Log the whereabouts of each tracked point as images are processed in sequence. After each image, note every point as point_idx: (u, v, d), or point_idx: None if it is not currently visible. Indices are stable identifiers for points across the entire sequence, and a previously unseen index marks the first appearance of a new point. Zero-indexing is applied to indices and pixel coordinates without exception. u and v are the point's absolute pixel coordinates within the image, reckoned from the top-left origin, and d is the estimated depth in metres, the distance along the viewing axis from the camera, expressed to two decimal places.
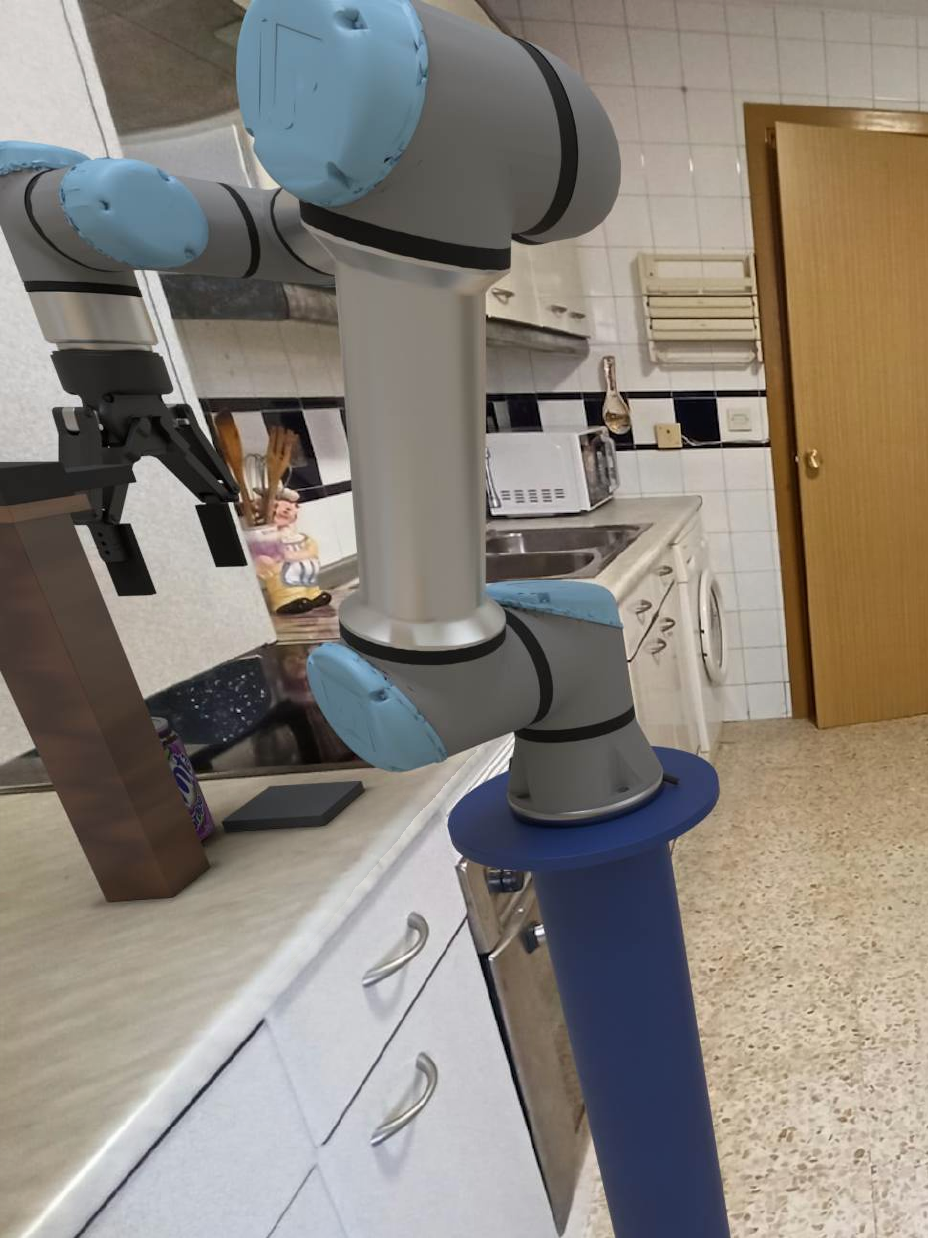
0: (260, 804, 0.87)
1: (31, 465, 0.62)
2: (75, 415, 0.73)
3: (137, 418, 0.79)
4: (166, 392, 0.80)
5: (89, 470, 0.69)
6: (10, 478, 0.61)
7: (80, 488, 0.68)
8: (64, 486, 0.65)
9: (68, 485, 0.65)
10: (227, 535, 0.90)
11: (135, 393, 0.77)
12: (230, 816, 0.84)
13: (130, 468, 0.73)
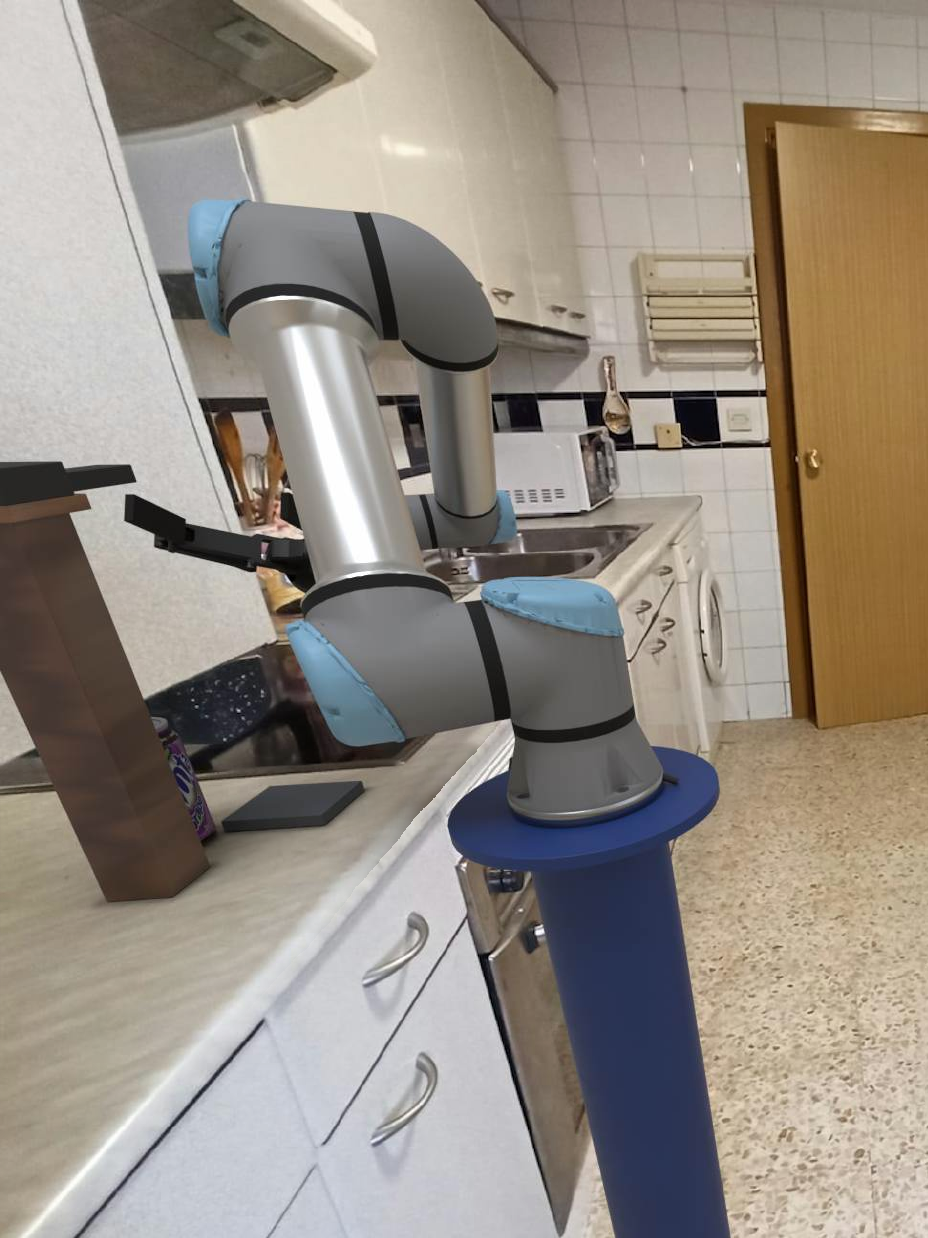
0: (260, 804, 0.87)
1: (31, 465, 0.62)
2: None
3: None
4: None
5: (89, 470, 0.69)
6: (10, 478, 0.61)
7: (80, 488, 0.68)
8: (64, 486, 0.65)
9: (68, 485, 0.65)
10: None
11: None
12: (230, 816, 0.84)
13: (130, 468, 0.73)
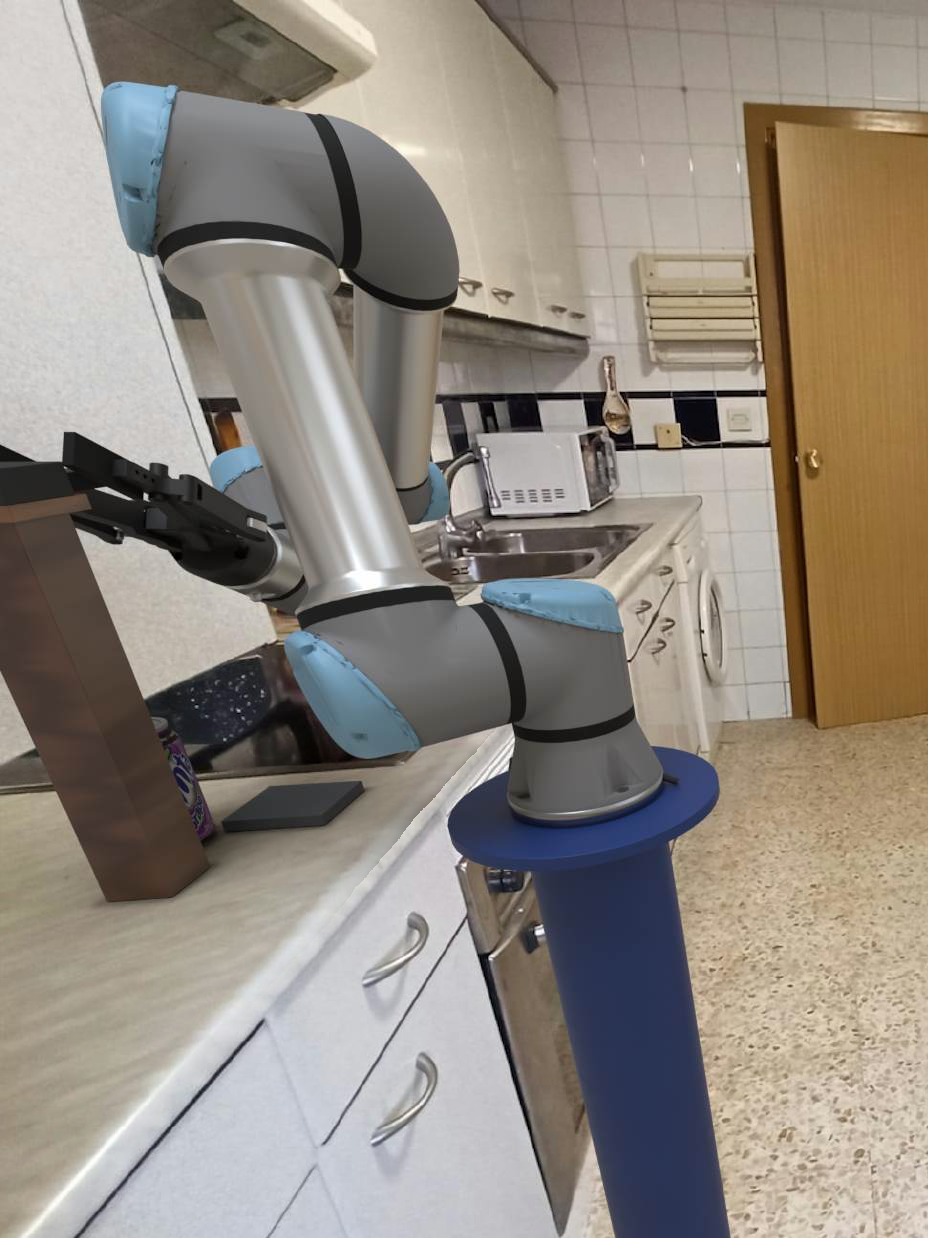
0: (260, 804, 0.87)
1: (31, 465, 0.62)
2: None
3: None
4: None
5: None
6: (10, 478, 0.61)
7: (80, 488, 0.68)
8: (64, 486, 0.65)
9: (68, 485, 0.65)
10: None
11: None
12: (230, 816, 0.84)
13: None
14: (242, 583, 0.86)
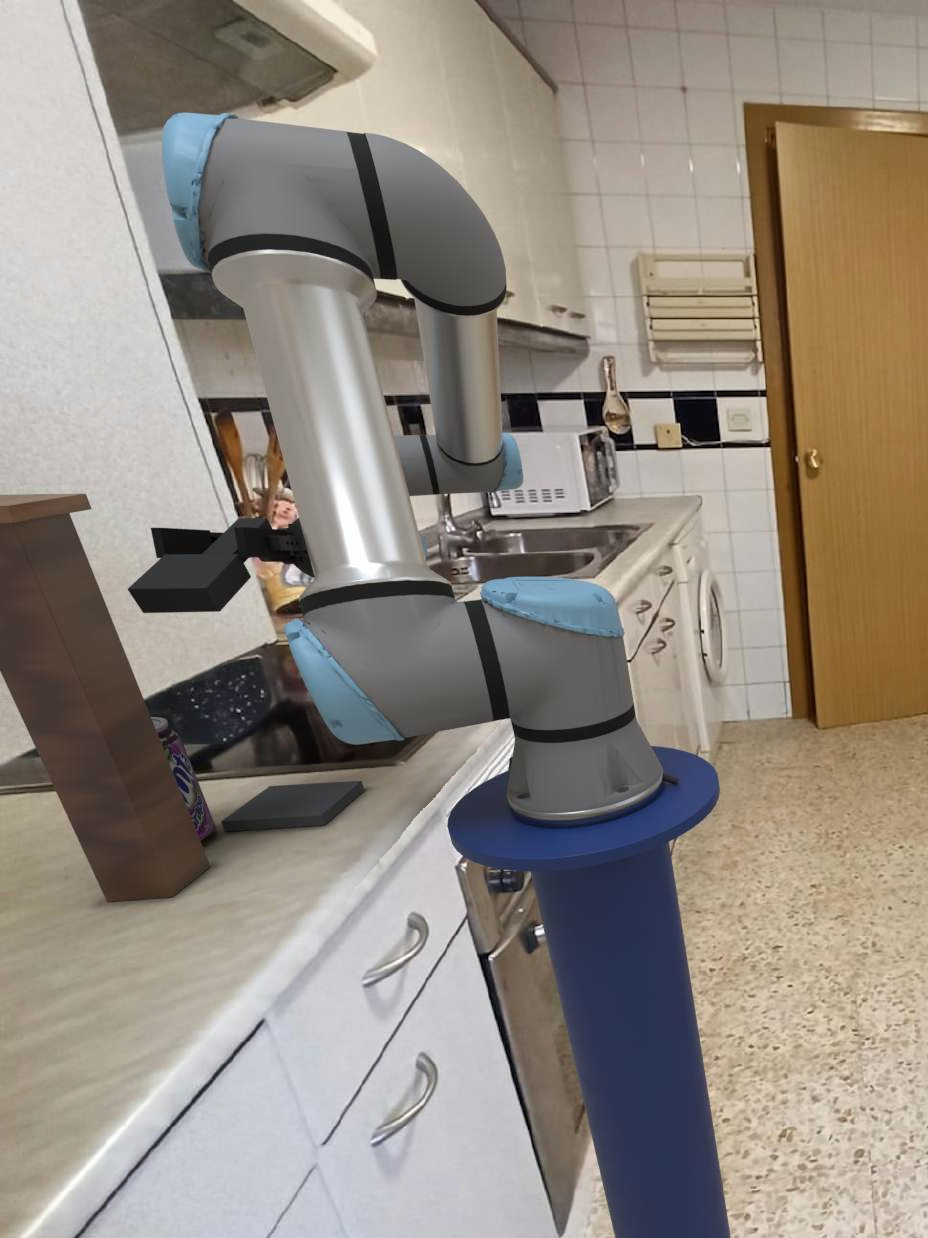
0: (260, 804, 0.87)
1: (224, 569, 0.77)
2: None
3: None
4: None
5: None
6: (216, 588, 0.76)
7: (245, 559, 0.82)
8: (244, 574, 0.79)
9: (246, 571, 0.80)
10: None
11: (294, 522, 0.96)
12: (230, 816, 0.84)
13: (267, 521, 0.86)
14: None
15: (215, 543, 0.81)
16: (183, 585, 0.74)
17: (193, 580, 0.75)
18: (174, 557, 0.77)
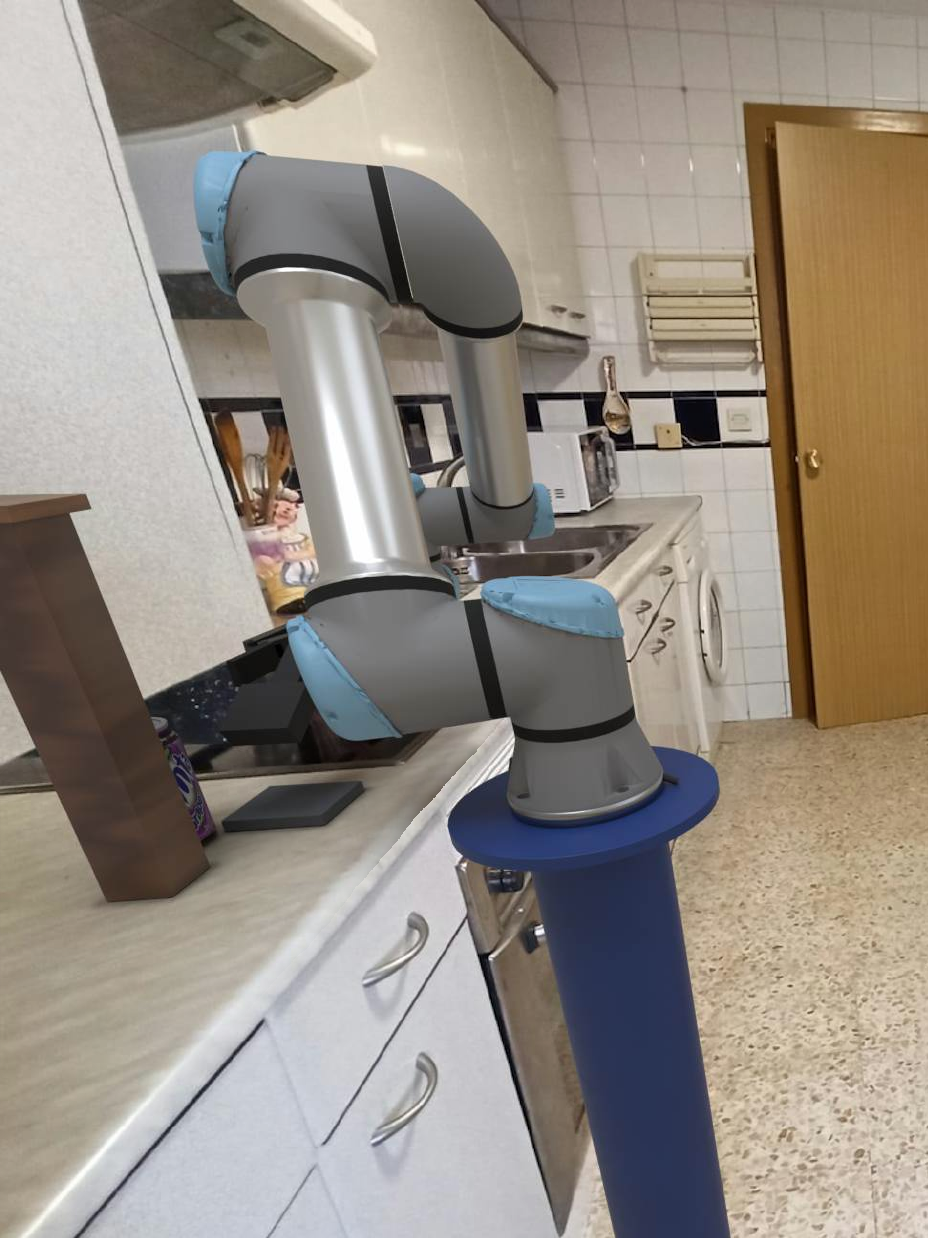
0: (260, 804, 0.87)
1: (298, 702, 0.85)
2: None
3: None
4: None
5: None
6: (295, 723, 0.84)
7: None
8: None
9: None
10: None
11: None
12: (230, 816, 0.84)
13: None
14: None
15: (282, 661, 0.89)
16: (266, 725, 0.83)
17: (274, 718, 0.83)
18: (251, 687, 0.85)
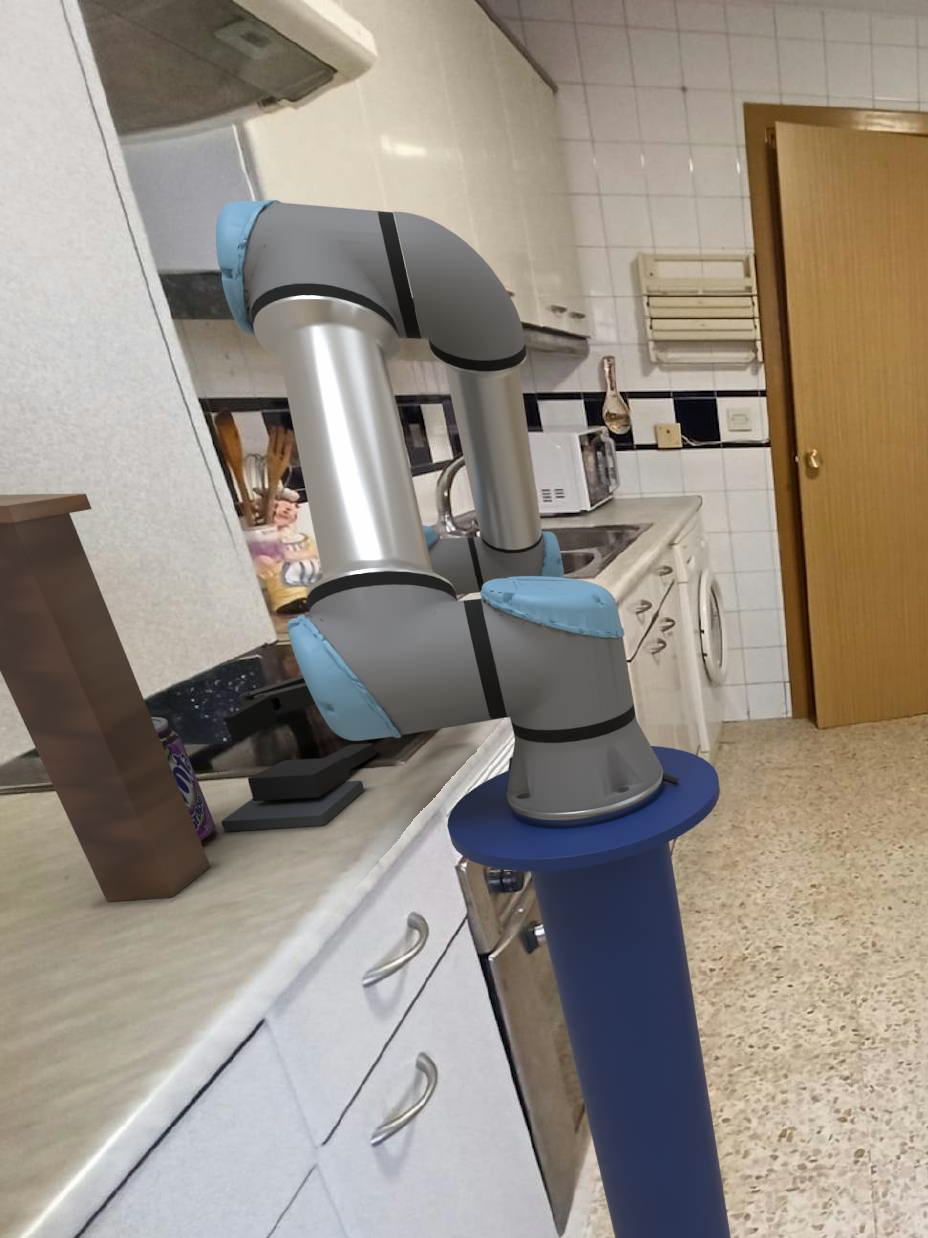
0: (260, 804, 0.87)
1: (330, 765, 0.89)
2: None
3: None
4: None
5: (352, 755, 0.96)
6: (321, 777, 0.87)
7: (348, 769, 0.95)
8: (345, 774, 0.92)
9: (347, 773, 0.92)
10: None
11: None
12: (230, 816, 0.84)
13: (373, 746, 1.00)
14: None
15: (326, 757, 0.95)
16: (294, 774, 0.86)
17: (303, 771, 0.87)
18: (292, 761, 0.91)
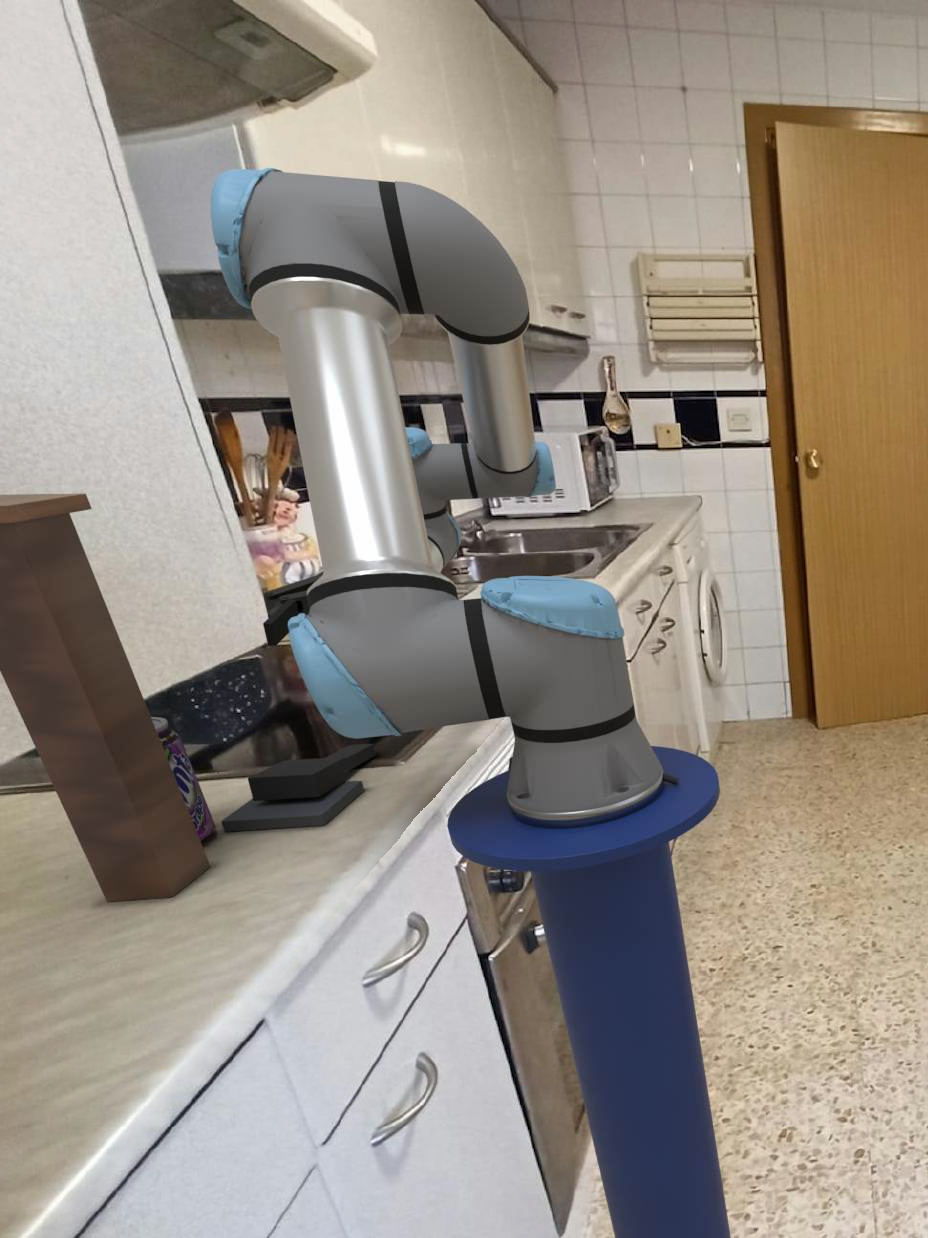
0: (260, 804, 0.87)
1: (330, 764, 0.89)
2: None
3: None
4: None
5: (353, 755, 0.96)
6: (321, 777, 0.87)
7: (348, 769, 0.95)
8: (345, 774, 0.92)
9: (347, 773, 0.92)
10: None
11: None
12: (230, 816, 0.84)
13: (373, 746, 1.00)
14: None
15: (326, 757, 0.95)
16: (294, 774, 0.86)
17: (304, 771, 0.87)
18: (292, 761, 0.91)
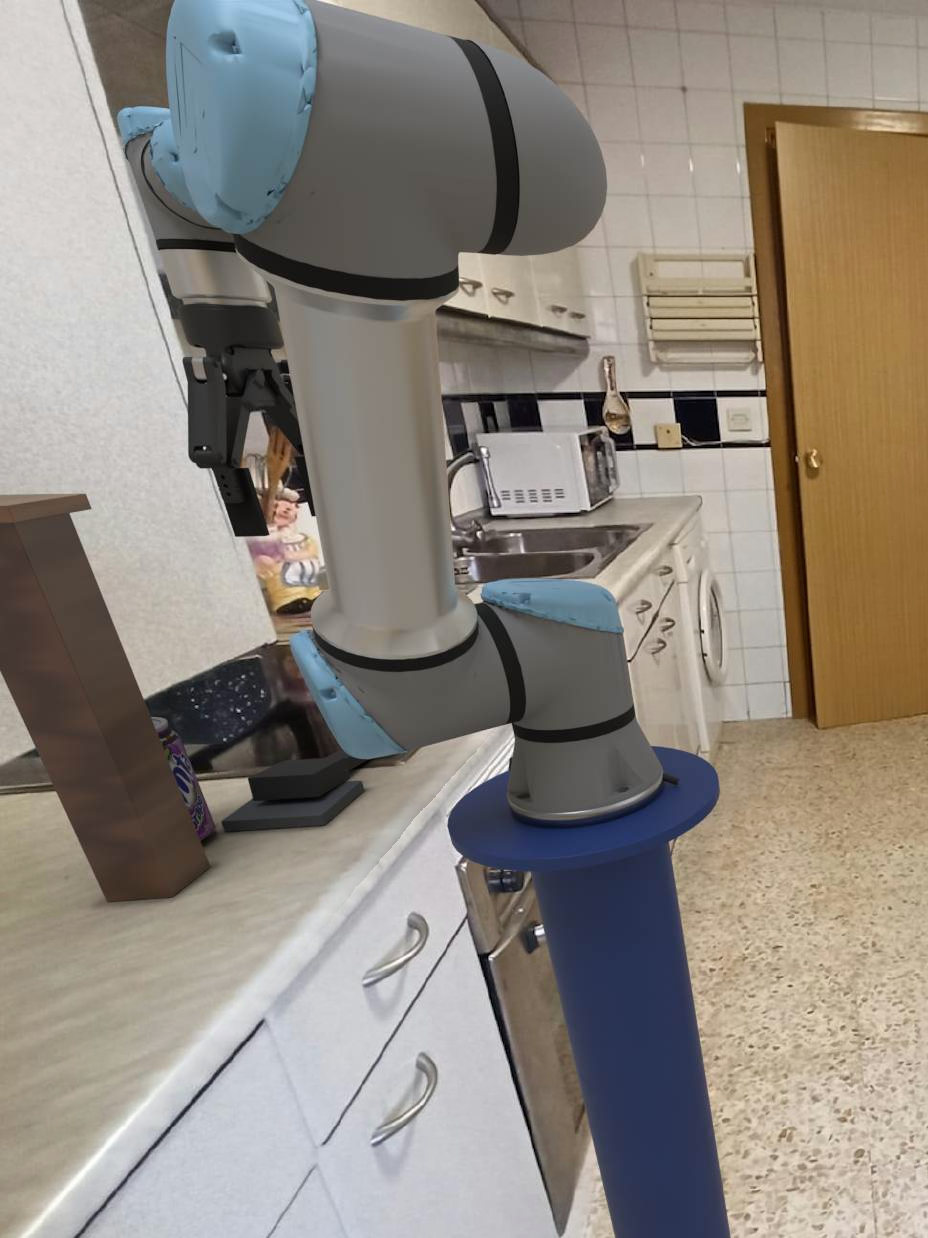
0: (260, 804, 0.87)
1: (330, 764, 0.89)
2: (203, 364, 0.79)
3: (253, 370, 0.84)
4: (279, 346, 0.85)
5: None
6: (321, 777, 0.87)
7: (348, 769, 0.95)
8: (345, 774, 0.92)
9: (347, 773, 0.92)
10: None
11: (253, 346, 0.83)
12: (230, 816, 0.84)
13: None
14: None
15: (326, 757, 0.95)
16: (294, 774, 0.86)
17: (304, 771, 0.87)
18: (292, 761, 0.91)
